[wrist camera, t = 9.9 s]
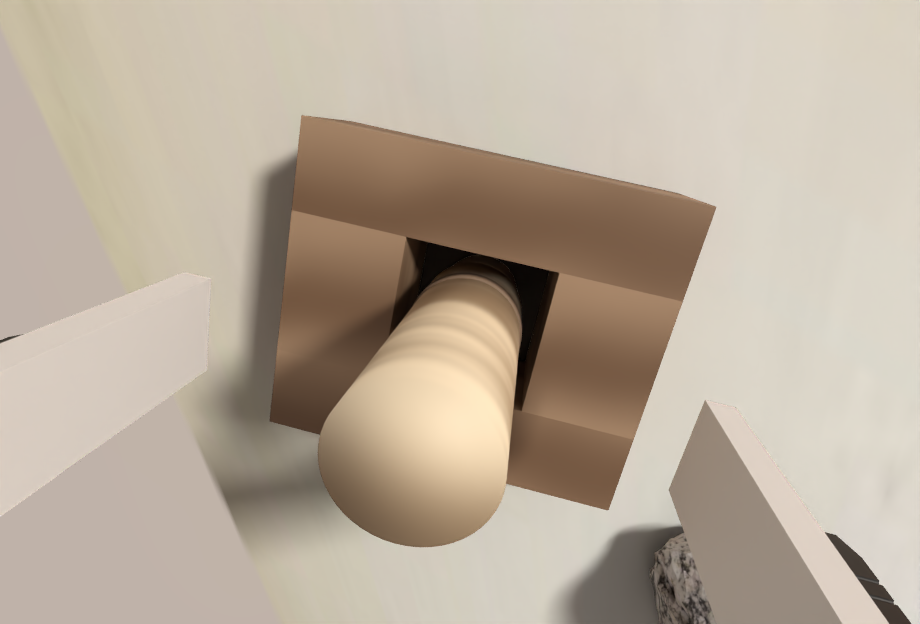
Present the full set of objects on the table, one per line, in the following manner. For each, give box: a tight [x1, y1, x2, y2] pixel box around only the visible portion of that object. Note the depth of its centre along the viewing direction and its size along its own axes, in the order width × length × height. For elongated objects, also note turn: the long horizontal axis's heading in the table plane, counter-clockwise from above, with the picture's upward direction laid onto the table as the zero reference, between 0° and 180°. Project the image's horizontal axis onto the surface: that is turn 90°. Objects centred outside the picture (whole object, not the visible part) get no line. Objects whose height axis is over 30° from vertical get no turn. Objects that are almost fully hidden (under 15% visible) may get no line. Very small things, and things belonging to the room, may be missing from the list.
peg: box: [318, 255, 522, 547], centre depth 18 cm, size 4×4×14 cm
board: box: [270, 115, 716, 510], centre depth 22 cm, size 12×14×5 cm
